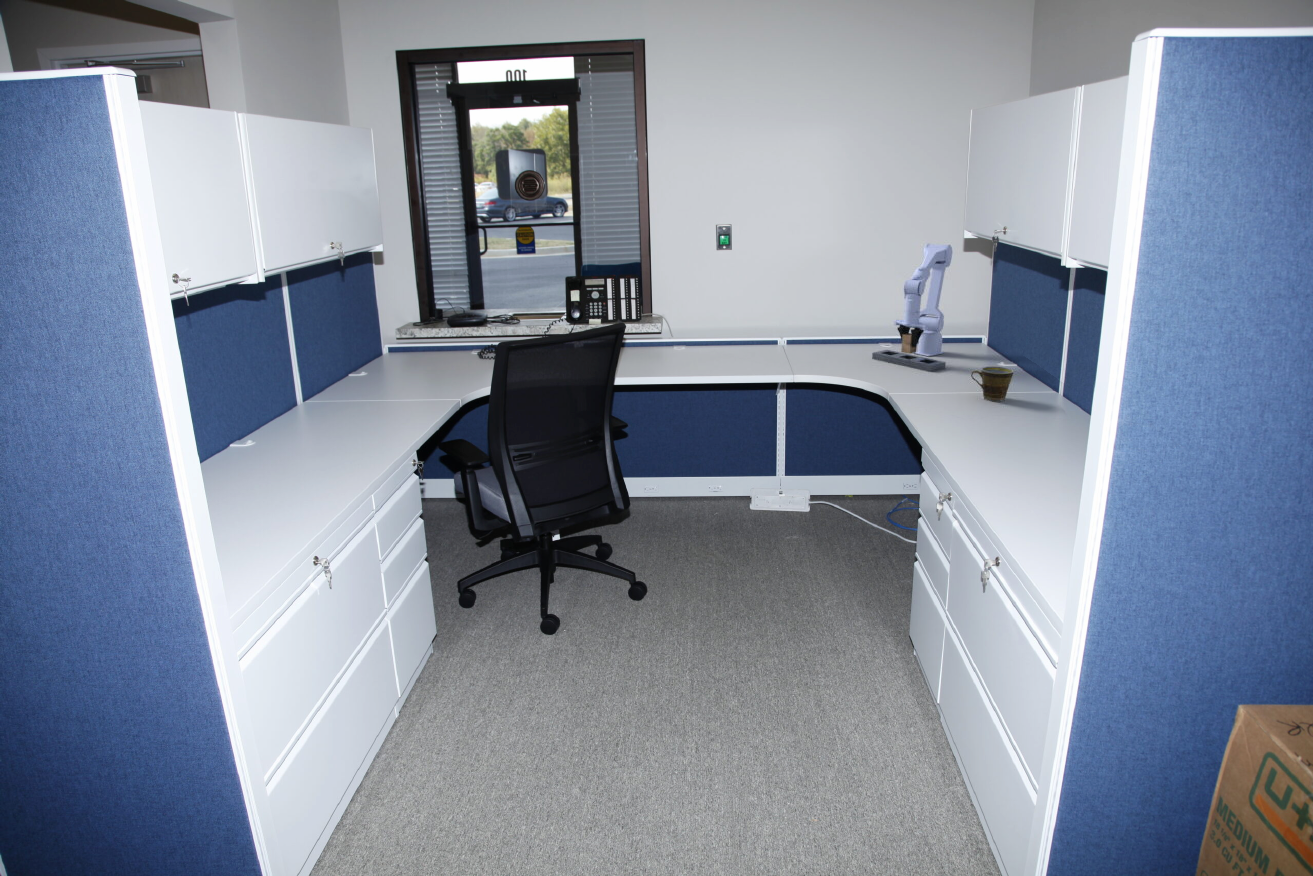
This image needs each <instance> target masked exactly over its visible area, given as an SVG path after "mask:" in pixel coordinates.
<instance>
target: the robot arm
mask: <svg viewBox="0 0 1313 876" xmlns="http://www.w3.org/2000/svg"><path fill="white" fill-rule="evenodd" d="M952 256H953V247H952V246H951V244H938V243H937V244H935V243H933V244H932V243H927V244H926V245H925V246H924V248H923V258H924V259H923V261H922V262H921V263H922V264H920V265H921V266H917V268H916V269H915V271H914V272H913V274H912V275H911V278H910V279H908V280H905V283H904V286H903V292H904V293H903V294H904V301H905V303H904V315H903V319H894V322H893V323H894V326H899V327H897V331H898V333H899V336H900V340H901V342H902V337H903V334H907V333H911V334H912V347H916V346H917V350H916V352H915V353H914V354H915V355H921V356H926V357H932V356H937V355H941V354H944V351H942V347H943V334H942V333H941V332H942V330H943V329H944V322H945V315H944V313H943V312H942V311H941V310H940V309H939V307H940V299H941V294H942V288H943V283H944V278H945V273H946V269H947V268H949V267H950V266H951V262H952V258H953V257H952ZM931 270H932V272H930V271H931ZM929 278H930V281H929ZM927 281H929V288H928V293H927V299H926V303H925V308H923V309H921V305H922V296H924V293H925V289H926V283H927Z"/></svg>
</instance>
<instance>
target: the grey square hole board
mask: <svg viewBox="0 0 1313 876" xmlns="http://www.w3.org/2000/svg"><path fill="white" fill-rule="evenodd" d="M871 359H872V360H877V361H880V362H884V363H890V364H893V365H898V366H903V367H907V368H911V369H917V370H920V371H923V372H928V373H929V372H930V373H931V372H935V371H940V370H945V369H946V363H947V362H946V361H942V360H937V359H933V358H929V357H924V356H918V355H916V354H915V355H914V354H908V353H904V352H901V351H895V350H890V349H883V350H879V351H874V352H872V358H871Z"/></svg>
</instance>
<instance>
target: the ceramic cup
mask: <svg viewBox="0 0 1313 876" xmlns="http://www.w3.org/2000/svg"><path fill="white" fill-rule="evenodd" d="M980 371H981V372H980ZM980 371H979V370H974V371H972V372H971V379H972V380H973V381H975V382H976V383H977V384H978V385H979V387H981V389H982V397H984V398H983V400H985V399H987V400H986V401H988V400H992V401H991V402H996V401H1000V402H1002V401H1001V400H1004V401H1005V400H1006V396H1007V393H1008V389H1009V387H1010V385H1011V381H1012V378H1013V375H1014V370H1013V369H1011V368H1007V367H1003V366H984V367H982V368H981V369H980ZM975 373H976V374H978V375H979V376H980V378H981V382H982V383H980V382H979V381H978V380H977V379H975V378H974V376H973V375H974V374H975Z"/></svg>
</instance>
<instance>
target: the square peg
mask: <svg viewBox="0 0 1313 876" xmlns="http://www.w3.org/2000/svg"><path fill="white" fill-rule="evenodd" d="M917 349H918V345H917V346H916V347H912V334H911V332H909V333H907V334H903V337H902V341H901V350H900V352H901V353H905V354H910V355H912V354H915V352H916V351H917Z"/></svg>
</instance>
